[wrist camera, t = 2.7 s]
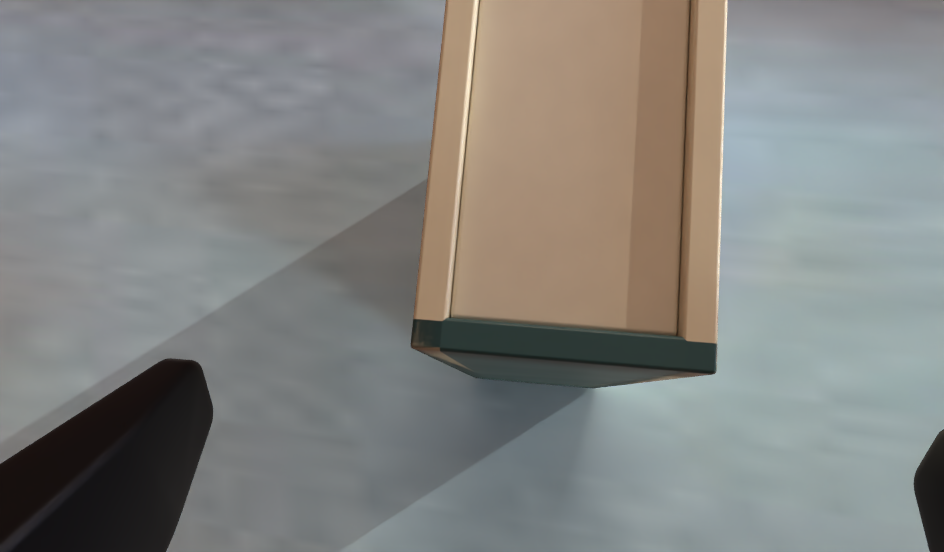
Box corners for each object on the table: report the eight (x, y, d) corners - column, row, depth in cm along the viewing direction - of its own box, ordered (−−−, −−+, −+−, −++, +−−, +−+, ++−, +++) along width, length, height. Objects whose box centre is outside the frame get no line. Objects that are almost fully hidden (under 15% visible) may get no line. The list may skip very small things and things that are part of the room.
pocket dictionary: (594, 388, 20) (717, 374, 8) (474, 377, 20) (409, 349, 8) (608, 141, 21) (734, -206, 9) (495, 135, 22) (466, -211, 9)
